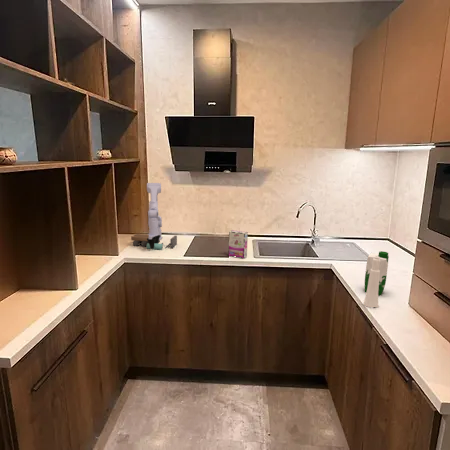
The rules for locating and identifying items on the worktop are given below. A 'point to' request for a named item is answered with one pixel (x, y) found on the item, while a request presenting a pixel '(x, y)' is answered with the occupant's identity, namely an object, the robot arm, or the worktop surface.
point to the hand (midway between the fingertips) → (154, 247)
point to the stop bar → (173, 242)
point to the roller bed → (144, 243)
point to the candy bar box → (238, 243)
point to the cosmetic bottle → (373, 284)
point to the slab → (140, 237)
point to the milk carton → (382, 267)
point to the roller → (155, 246)
